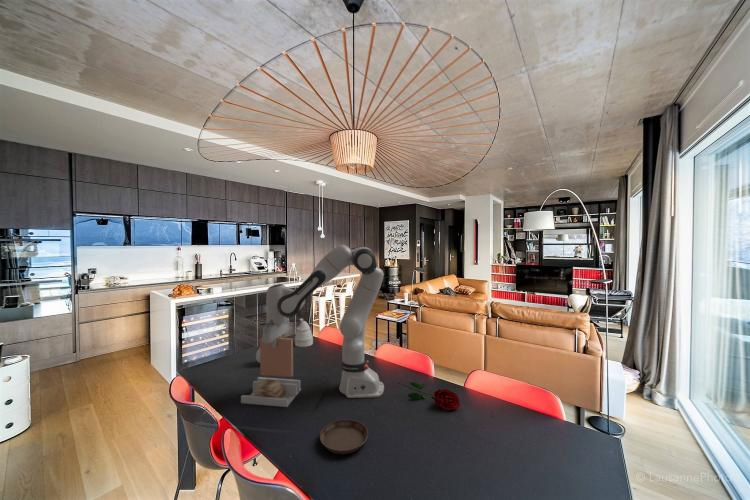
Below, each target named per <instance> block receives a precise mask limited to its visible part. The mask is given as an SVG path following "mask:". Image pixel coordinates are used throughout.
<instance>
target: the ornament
mask: <svg viewBox="0 0 750 500" xmlns="http://www.w3.org/2000/svg"><path fill="white" fill-rule="evenodd" d="M255 359H256V362H258V363H259V364H260V347H259V348H258V349H257V351H256V353H255Z"/></svg>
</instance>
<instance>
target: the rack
mask: <svg viewBox="0 0 750 500" xmlns="http://www.w3.org/2000/svg"><path fill="white" fill-rule="evenodd" d="M264 380H277V381H281V386H283V391H285V397H284V398H273V397H261V396H255V395H256V391H257V390H258V385H260V384H261V383H262V382H263V381H264ZM301 390H302V388H301V379H293V378H292V379H291V378H289V379H288V378H277V377H276V378H275V377H265V376H264V377H261V376H258V377H257V378H256V380H253V382H252V393H251V394H249V395H247V394H245V395H244V394H242V395H241V396H240V403H241V404H248V405H257V406H258V405H259V406H271V407H280V408H281V407H283V408H288V407H289V406H290V404H291V403H292V402H293V400H294V399H295V398H296V396H297V395H298V394H299V393H300V392H301Z"/></svg>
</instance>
